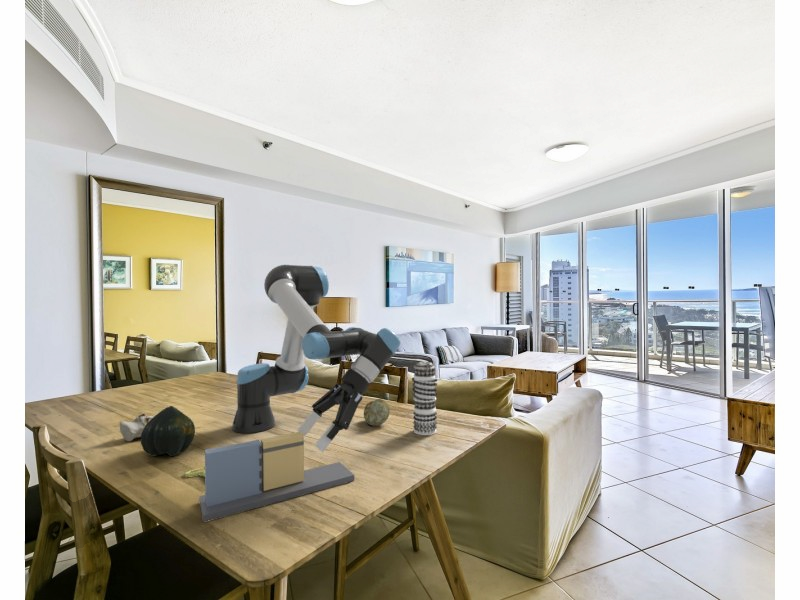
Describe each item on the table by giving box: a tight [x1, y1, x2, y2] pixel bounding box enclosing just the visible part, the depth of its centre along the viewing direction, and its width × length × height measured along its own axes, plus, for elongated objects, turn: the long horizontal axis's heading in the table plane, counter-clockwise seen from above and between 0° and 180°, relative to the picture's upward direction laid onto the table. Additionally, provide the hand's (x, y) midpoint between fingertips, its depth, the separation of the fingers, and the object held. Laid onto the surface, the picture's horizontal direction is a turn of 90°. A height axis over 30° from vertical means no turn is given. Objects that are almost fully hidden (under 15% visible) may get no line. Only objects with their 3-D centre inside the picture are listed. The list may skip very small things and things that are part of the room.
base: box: [198, 461, 355, 523], centre depth 98 cm, size 36×10×2 cm, turn 122°
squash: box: [140, 405, 196, 457], centre depth 124 cm, size 14×15×15 cm
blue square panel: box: [204, 439, 262, 507], centre depth 92 cm, size 12×3×12 cm, turn 122°
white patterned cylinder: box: [411, 361, 438, 436], centre depth 141 cm, size 9×9×25 cm
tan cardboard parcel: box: [260, 431, 305, 491], centre depth 98 cm, size 10×3×12 cm, turn 122°
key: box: [184, 465, 205, 478], centre depth 108 cm, size 7×12×2 cm, turn 66°
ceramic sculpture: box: [119, 413, 154, 442], centre depth 138 cm, size 11×9×15 cm
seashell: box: [363, 398, 391, 427], centre depth 151 cm, size 11×11×10 cm
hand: (309, 440), depth 101 cm, fingers open, 13 cm apart
